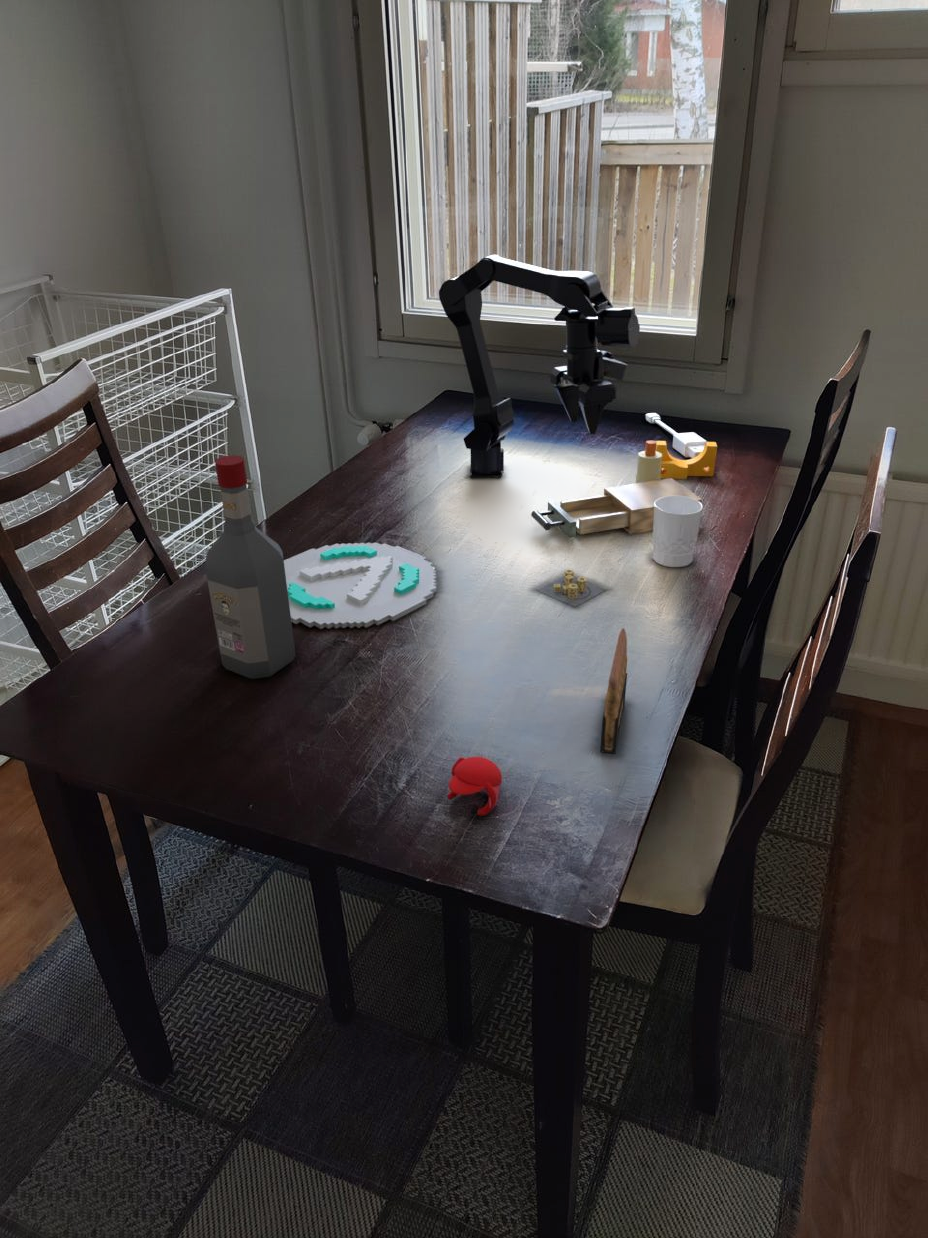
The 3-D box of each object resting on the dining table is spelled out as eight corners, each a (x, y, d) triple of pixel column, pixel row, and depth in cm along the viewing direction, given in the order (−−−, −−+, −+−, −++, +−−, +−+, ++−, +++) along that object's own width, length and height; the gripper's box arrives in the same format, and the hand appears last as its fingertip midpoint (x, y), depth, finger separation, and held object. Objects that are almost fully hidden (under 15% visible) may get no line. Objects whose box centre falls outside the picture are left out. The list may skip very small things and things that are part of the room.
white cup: (700, 553, 159) (707, 499, 154) (690, 572, 152) (696, 517, 147) (655, 545, 161) (660, 492, 156) (643, 564, 155) (648, 509, 150)
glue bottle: (645, 499, 180) (650, 447, 174) (630, 491, 183) (634, 440, 178) (663, 493, 182) (668, 442, 176) (647, 486, 185) (652, 436, 180)
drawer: (548, 542, 162) (548, 525, 160) (526, 520, 170) (527, 504, 168) (636, 527, 166) (638, 511, 165) (611, 507, 174) (613, 491, 173)
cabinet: (630, 534, 166) (632, 510, 163) (602, 510, 175) (604, 487, 173) (699, 522, 170) (702, 499, 167) (668, 500, 179) (671, 477, 176)
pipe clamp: (654, 477, 189) (657, 447, 186) (653, 470, 193) (656, 440, 190) (714, 479, 188) (718, 449, 185) (711, 471, 192) (715, 441, 188)
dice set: (568, 578, 151) (568, 568, 150) (592, 589, 148) (593, 578, 147) (548, 589, 148) (548, 578, 147) (572, 600, 145) (573, 589, 144)
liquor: (261, 685, 126) (229, 478, 111) (213, 666, 130) (176, 465, 115) (305, 654, 132) (281, 455, 117) (258, 637, 137) (229, 443, 122)
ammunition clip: (610, 702, 121) (616, 623, 115) (624, 704, 121) (631, 625, 114) (600, 752, 112) (606, 669, 106) (615, 754, 112) (622, 671, 106)
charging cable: (658, 420, 224) (659, 407, 222) (714, 461, 195) (716, 446, 194) (638, 422, 223) (639, 408, 221) (692, 463, 195) (693, 448, 193)
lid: (471, 580, 151) (471, 571, 150) (340, 648, 134) (339, 638, 133) (358, 533, 168) (357, 525, 167) (229, 587, 150) (227, 579, 149)
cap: (457, 777, 108) (456, 736, 105) (507, 785, 107) (507, 744, 104) (438, 823, 102) (437, 781, 99) (491, 832, 100) (491, 789, 97)
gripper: (644, 348, 164) (642, 433, 171) (601, 331, 180) (601, 409, 187) (586, 357, 162) (587, 443, 169) (548, 338, 178) (550, 418, 185)
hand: (583, 427), depth 178 cm, fingers open, 9 cm apart
